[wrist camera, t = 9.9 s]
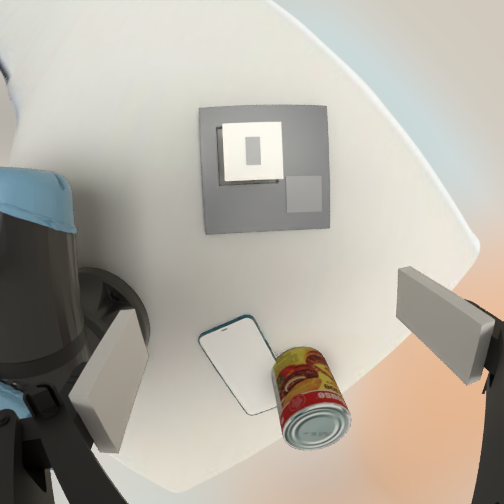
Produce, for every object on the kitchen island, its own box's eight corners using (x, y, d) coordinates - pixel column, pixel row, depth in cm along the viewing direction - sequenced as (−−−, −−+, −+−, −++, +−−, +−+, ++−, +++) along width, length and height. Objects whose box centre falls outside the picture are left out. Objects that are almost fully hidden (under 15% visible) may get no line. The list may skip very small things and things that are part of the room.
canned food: (333, 375, 44) (359, 431, 32) (285, 399, 44) (299, 458, 33) (313, 337, 42) (339, 392, 30) (260, 362, 42) (270, 423, 31)
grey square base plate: (206, 231, 37) (205, 235, 36) (200, 110, 34) (198, 107, 32) (326, 225, 38) (330, 228, 36) (323, 108, 34) (327, 105, 33)
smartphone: (296, 394, 45) (251, 310, 40) (297, 398, 44) (251, 314, 39) (248, 413, 45) (195, 334, 41) (248, 417, 44) (194, 338, 40)
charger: (226, 178, 36) (224, 181, 27) (224, 134, 35) (222, 123, 26) (271, 176, 36) (283, 178, 27) (269, 132, 35) (281, 121, 26)
